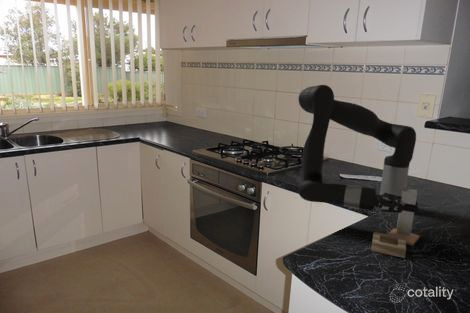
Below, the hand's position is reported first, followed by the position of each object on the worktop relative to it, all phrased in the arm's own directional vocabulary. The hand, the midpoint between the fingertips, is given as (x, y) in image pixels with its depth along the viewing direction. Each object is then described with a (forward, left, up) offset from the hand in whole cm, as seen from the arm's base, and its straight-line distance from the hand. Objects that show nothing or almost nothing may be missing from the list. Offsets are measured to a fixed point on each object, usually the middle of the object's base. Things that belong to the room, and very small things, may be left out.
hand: (417, 207), depth 111 cm
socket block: (+12, -4, -11) cm, 17 cm away
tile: (+1, -3, -11) cm, 11 cm away
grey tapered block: (+1, -3, -9) cm, 9 cm away
